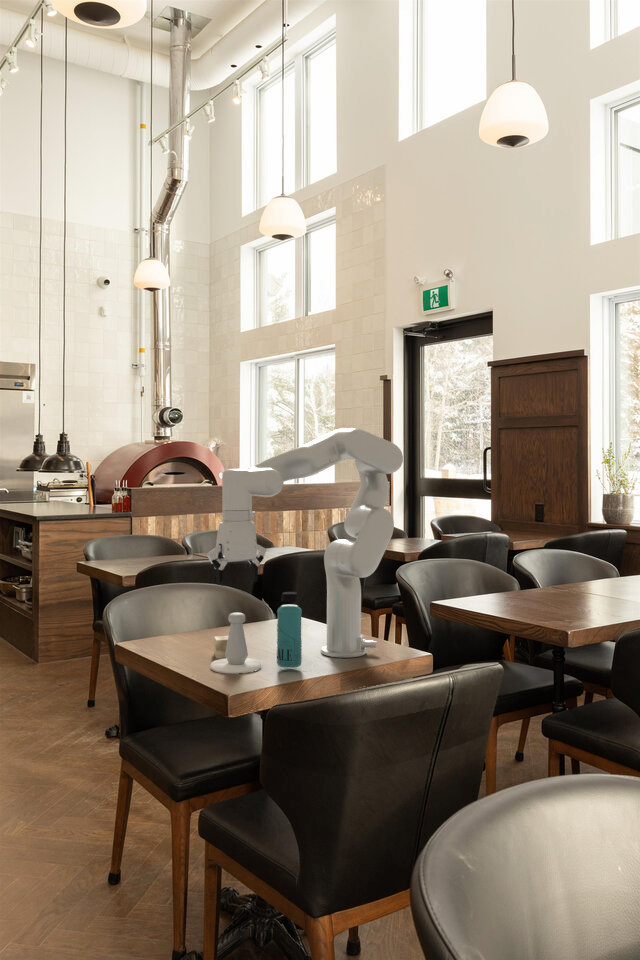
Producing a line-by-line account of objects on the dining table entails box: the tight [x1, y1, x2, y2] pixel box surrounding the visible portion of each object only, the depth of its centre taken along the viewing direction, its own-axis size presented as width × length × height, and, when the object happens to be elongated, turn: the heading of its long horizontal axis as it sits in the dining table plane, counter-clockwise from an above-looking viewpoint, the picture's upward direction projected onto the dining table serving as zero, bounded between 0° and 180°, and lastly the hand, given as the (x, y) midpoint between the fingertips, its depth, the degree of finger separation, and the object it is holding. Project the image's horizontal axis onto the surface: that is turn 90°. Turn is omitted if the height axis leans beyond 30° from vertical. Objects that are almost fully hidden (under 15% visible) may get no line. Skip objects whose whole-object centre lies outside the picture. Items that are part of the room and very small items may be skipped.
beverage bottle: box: [276, 591, 303, 668], centre depth 206 cm, size 6×7×20 cm
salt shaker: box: [225, 612, 249, 665], centre depth 208 cm, size 6×6×13 cm
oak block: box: [213, 635, 229, 659], centre depth 221 cm, size 5×5×5 cm
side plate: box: [210, 657, 262, 675], centre depth 208 cm, size 13×13×1 cm
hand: (237, 583), depth 208 cm, fingers open, 9 cm apart
